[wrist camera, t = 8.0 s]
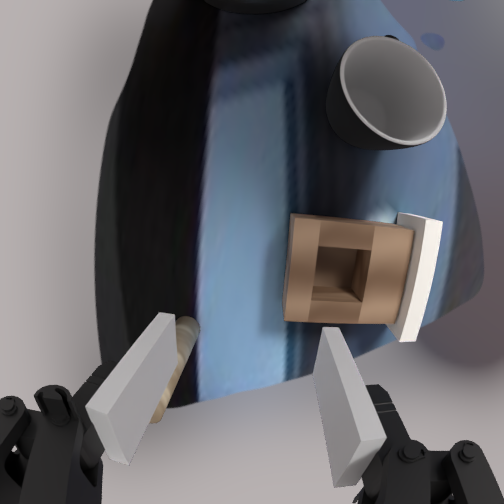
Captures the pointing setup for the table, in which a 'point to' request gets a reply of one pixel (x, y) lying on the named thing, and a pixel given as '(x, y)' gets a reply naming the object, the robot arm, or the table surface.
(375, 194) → the table surface
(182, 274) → the table surface
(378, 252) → the block
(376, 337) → the table surface
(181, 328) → the dowel
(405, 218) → the rail
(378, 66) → the mug
